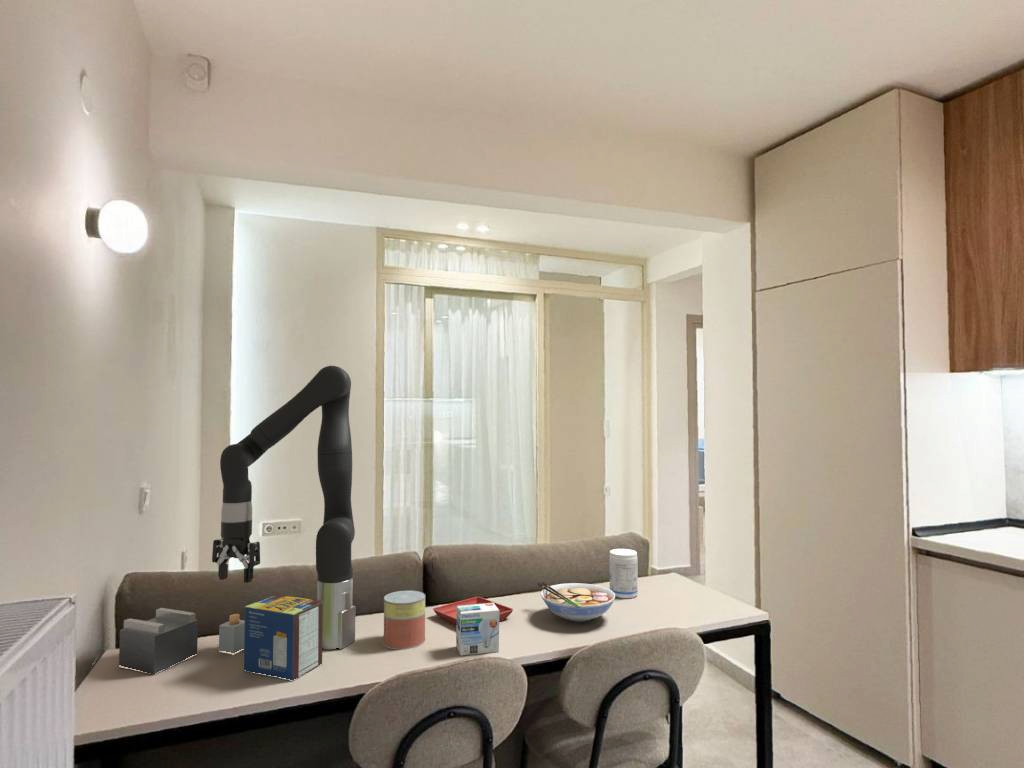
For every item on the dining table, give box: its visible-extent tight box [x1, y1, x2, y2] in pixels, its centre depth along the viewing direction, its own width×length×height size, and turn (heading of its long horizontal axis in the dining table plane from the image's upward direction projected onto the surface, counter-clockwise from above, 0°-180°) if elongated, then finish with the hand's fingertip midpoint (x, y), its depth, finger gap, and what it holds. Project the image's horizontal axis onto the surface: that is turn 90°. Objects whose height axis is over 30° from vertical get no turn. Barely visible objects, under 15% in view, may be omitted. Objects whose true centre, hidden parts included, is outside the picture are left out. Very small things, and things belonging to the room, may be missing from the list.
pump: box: [218, 613, 245, 653], centre depth 153 cm, size 5×5×9 cm
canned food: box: [383, 589, 426, 650], centre depth 159 cm, size 11×11×12 cm
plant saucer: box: [432, 596, 514, 626], centre depth 176 cm, size 18×18×3 cm
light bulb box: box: [455, 603, 500, 656], centre depth 153 cm, size 11×7×11 cm, turn 105°
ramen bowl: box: [536, 581, 616, 623], centre depth 176 cm, size 25×23×8 cm
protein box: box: [243, 594, 323, 681], centre depth 142 cm, size 10×15×16 cm
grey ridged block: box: [118, 607, 199, 675], centre depth 146 cm, size 12×12×11 cm
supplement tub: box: [608, 548, 639, 599], centre depth 199 cm, size 10×10×15 cm
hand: (235, 580), depth 153 cm, fingers open, 8 cm apart
